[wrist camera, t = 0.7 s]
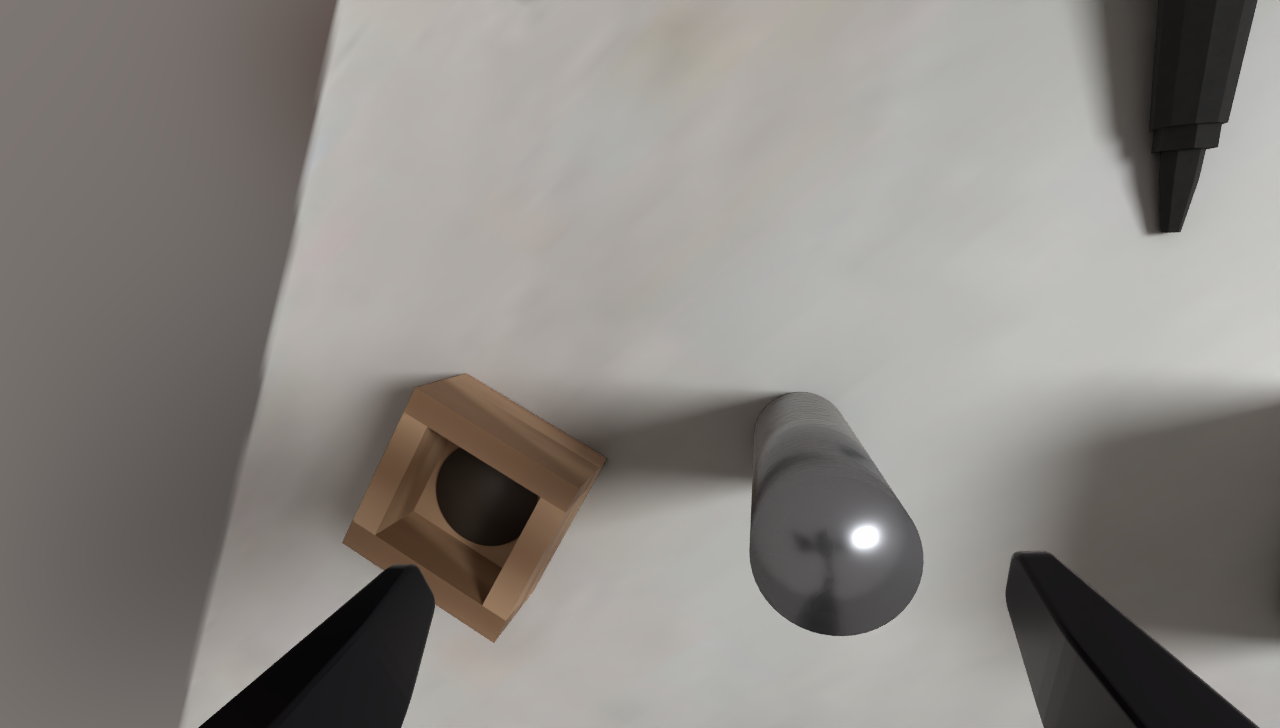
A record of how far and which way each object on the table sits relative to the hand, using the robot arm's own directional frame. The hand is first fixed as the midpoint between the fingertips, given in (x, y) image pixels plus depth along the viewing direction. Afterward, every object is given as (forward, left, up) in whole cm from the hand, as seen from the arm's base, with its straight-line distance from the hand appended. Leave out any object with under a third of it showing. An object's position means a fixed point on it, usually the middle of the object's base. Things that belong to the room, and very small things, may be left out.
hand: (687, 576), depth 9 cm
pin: (0, -3, -18) cm, 19 cm away
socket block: (-10, +8, -18) cm, 22 cm away
